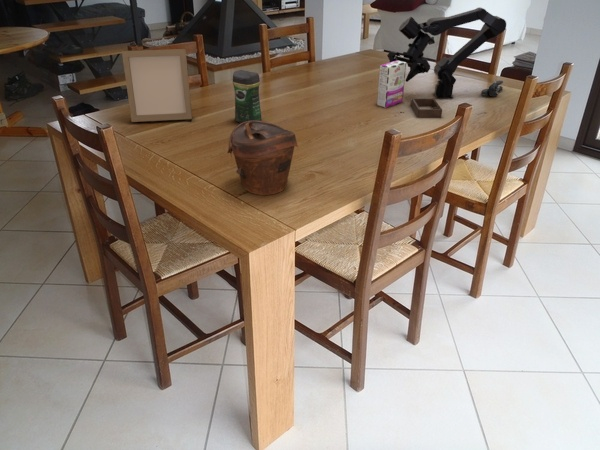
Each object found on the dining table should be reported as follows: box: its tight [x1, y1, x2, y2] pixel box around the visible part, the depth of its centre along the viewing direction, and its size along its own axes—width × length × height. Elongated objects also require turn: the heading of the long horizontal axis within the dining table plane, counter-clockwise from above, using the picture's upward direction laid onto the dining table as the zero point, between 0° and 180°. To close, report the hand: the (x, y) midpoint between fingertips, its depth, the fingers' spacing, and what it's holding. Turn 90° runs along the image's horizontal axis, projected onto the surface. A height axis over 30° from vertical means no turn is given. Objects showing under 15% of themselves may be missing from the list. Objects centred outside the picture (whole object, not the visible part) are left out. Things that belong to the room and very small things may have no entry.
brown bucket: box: [227, 120, 299, 196], centre depth 139 cm, size 18×20×18 cm
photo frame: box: [121, 48, 193, 123], centre depth 185 cm, size 15×22×25 cm
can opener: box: [480, 80, 504, 97], centre depth 218 cm, size 18×7×6 cm, turn 142°
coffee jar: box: [232, 69, 262, 124], centre depth 183 cm, size 10×8×19 cm
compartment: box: [410, 97, 443, 119], centre depth 197 cm, size 9×14×3 cm, turn 0°
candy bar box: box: [376, 60, 407, 109], centre depth 202 cm, size 11×5×16 cm, turn 132°
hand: (397, 78), depth 202 cm, fingers open, 9 cm apart
